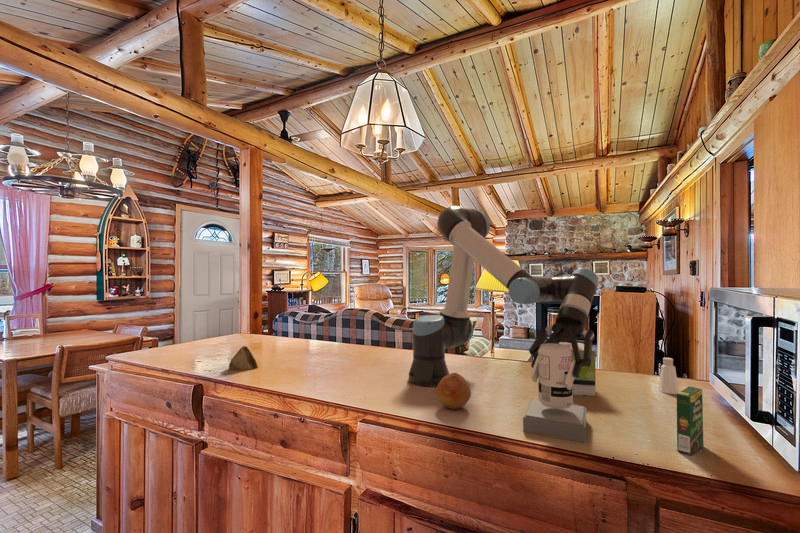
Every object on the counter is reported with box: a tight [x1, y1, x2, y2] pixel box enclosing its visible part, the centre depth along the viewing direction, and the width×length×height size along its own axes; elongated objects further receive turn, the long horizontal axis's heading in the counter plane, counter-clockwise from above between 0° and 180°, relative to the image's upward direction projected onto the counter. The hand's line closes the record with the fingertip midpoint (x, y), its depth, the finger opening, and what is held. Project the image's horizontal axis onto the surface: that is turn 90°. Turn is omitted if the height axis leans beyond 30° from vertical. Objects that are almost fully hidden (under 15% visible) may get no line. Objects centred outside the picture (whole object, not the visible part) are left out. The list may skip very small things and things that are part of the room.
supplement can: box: [537, 343, 574, 409], centre depth 96 cm, size 8×8×15 cm
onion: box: [436, 372, 472, 410], centre depth 110 cm, size 10×10×10 cm
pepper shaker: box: [658, 357, 680, 395], centre depth 123 cm, size 5×5×11 cm
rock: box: [228, 345, 259, 371], centre depth 157 cm, size 11×9×10 cm
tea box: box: [559, 342, 597, 397], centre depth 127 cm, size 15×10×15 cm, turn 168°
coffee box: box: [675, 386, 705, 457], centre depth 84 cm, size 8×3×13 cm, turn 125°
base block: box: [522, 398, 587, 444], centre depth 96 cm, size 14×14×4 cm
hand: (549, 382), depth 94 cm, fingers closed on supplement can, 8 cm apart
